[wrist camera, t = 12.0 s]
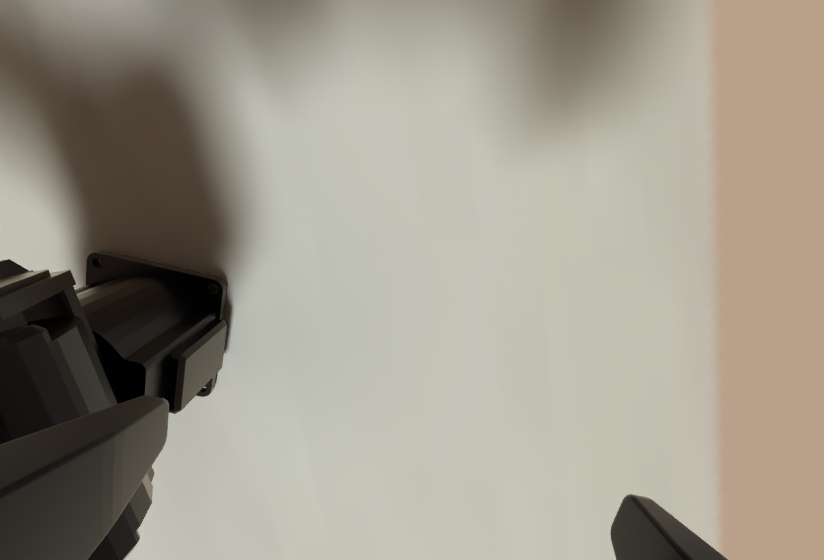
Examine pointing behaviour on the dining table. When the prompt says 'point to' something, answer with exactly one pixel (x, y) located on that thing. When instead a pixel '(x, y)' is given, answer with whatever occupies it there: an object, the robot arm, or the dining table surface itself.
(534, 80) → the dining table surface
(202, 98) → the dining table surface
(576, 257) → the dining table surface
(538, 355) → the dining table surface
